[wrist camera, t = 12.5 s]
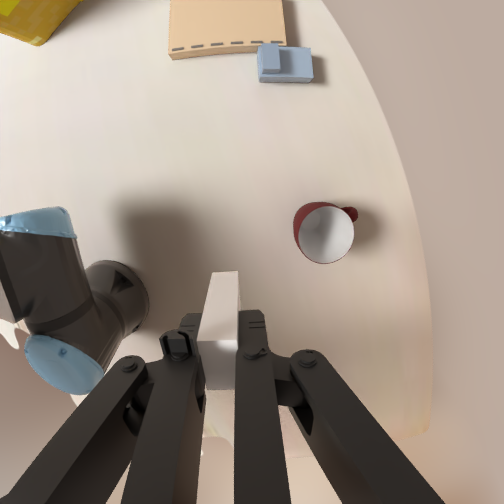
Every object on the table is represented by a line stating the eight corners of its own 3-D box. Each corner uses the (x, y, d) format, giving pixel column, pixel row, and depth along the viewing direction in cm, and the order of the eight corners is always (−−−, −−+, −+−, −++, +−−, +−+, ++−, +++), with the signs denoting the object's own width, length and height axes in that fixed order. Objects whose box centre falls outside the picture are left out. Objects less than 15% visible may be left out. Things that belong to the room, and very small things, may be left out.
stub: (258, 82, 37) (261, 72, 32) (257, 53, 36) (259, 40, 31) (308, 82, 38) (317, 73, 33) (306, 54, 36) (314, 42, 31)
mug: (332, 179, 43) (356, 185, 34) (352, 221, 46) (377, 237, 36) (276, 210, 45) (286, 224, 35) (299, 251, 47) (313, 274, 37)
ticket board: (172, 60, 36) (168, 53, 33) (174, 6, 32) (170, -2, 29) (283, 52, 36) (286, 45, 33) (278, -1, 32) (280, -10, 29)
